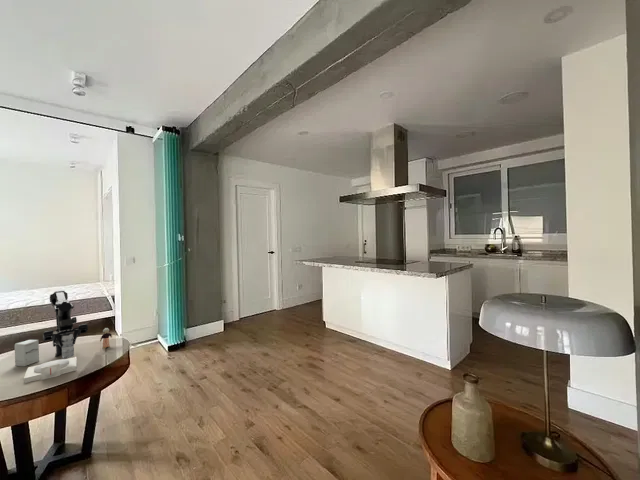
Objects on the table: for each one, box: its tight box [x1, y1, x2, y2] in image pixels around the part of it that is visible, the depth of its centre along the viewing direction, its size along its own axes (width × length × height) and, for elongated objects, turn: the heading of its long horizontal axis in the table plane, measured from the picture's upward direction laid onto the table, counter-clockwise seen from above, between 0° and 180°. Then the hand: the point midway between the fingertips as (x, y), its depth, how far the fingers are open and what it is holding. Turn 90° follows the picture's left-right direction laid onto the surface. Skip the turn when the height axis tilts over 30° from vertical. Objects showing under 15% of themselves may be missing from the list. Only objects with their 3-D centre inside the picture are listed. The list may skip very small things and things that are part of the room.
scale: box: [23, 356, 78, 384], centre depth 155 cm, size 18×20×6 cm
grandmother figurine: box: [99, 327, 113, 350], centre depth 188 cm, size 8×4×13 cm, turn 170°
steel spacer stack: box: [61, 332, 75, 359], centre depth 158 cm, size 5×5×12 cm
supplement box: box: [14, 339, 40, 367], centre depth 166 cm, size 7×7×13 cm
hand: (68, 345), depth 157 cm, fingers closed on steel spacer stack, 5 cm apart
